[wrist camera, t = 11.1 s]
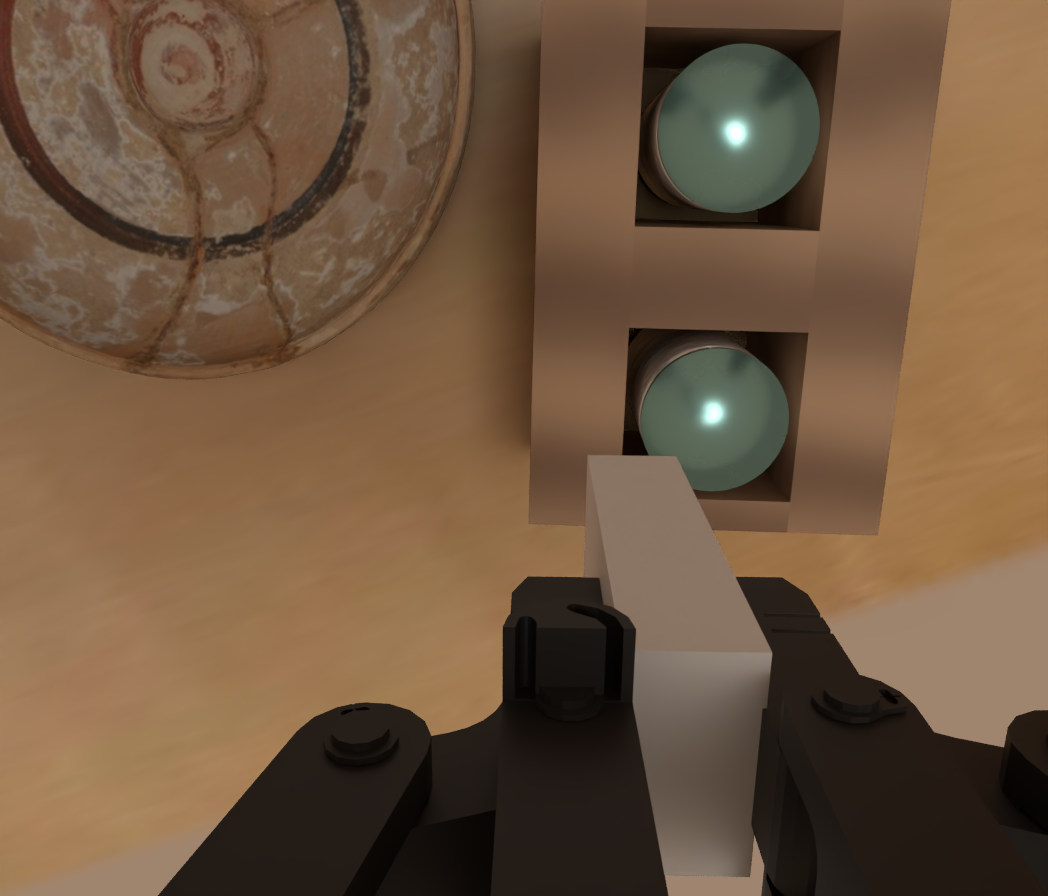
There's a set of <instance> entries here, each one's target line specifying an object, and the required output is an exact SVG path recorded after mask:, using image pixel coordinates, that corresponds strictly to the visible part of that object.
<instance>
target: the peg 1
mask: <svg viewBox="0 0 1048 896" xmlns="http://www.w3.org/2000/svg"><path fill="white" fill-rule="evenodd" d="M819 128H820V117H819V108H818V103H817V99H816V96H815V93H814V91H813V88H812V86H811V84H810V82H809V80H808V79H807V77H806V76H805V74H804V73H803V72H802V70H801V69H800V68H799V67H798V66H797V65H796V64H795V63H794V62H793V61H792V60H790V59H789V58H788V57H786V56H785V55H783V54H781V53H780V52H778V51H776V50H773V49H771V48H768V47H765V46H761V45H757V44H746V43H745V44H732V45H727V46H723V47H720V48H717V49H714V50H712V51H710V52H708V53H706V54H704V55H702V56H701V57H699V58H698V59H696V60H695V61H693V62H692V63H691V64H690V65H689V66H688V67H687V68H685V69H684V70H683V71H682V72H681V73H680V74H679V75H678V76H677V77H676V78H675V79H674V80H673V81H672V82H671V83H670V84H669V85H668V86H666V87H665V88H664V89H663V90H662V91H661V92H660V93H659V94H658V95H657V96H656V97H655V98H654V99H653V100H652V101H651V102H650V104H649V105H648V106H647V108H646V109H645V111H644V113H643V114H642V116H641V118H640V134H639V153H638V170H639V172H640V175H641V177H642V178H643V180H644V182H645V183H646V185H647V186H648V187H649V189H650V190H651V191H652V192H653V193H654V194H655V195H657V196H658V197H659V198H661V199H662V200H664V201H666V202H668V203H670V204H673V205H675V206H679V207H683V208H692V209H700V210H709V211H718V212H728V213H741V212H747V211H753V210H756V209H759V208H762V207H765V206H767V205H769V204H771V203H773V202H775V201H776V200H778V199H779V198H781V197H782V196H784V195H785V194H786V193H787V192H788V191H790V190H791V189H792V188H793V187H794V186H795V185H796V184H797V182H798V181H799V180H800V179H801V177H802V176H803V175H804V173H805V171H806V170H807V168H808V166H809V165H810V162H811V160H812V158H813V156H814V153H815V150H816V146H817V143H818V137H819Z"/></svg>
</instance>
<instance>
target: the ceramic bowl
mask: <svg viewBox="0 0 1048 896" xmlns="http://www.w3.org/2000/svg"><path fill="white" fill-rule="evenodd" d="M474 85H475V32H474V20H473V13H472V6H471V0H0V318H1V319H3V320H5V321H6V322H8V323H9V324H11V325H12V326H14V327H15V328H17V329H18V330H20V331H22V332H23V333H25V334H27V335H29V336H31V337H33V338H35V339H37V340H39V341H41V342H42V343H44V344H46V345H48V346H51V347H54V348H56V349H59V350H61V351H64V352H66V353H68V354H71V355H73V356H76V357H79V358H82V359H85V360H88V361H91V362H94V363H97V364H101V365H104V366H107V367H111V368H115V369H118V370H122V371H126V372H130V373H135V374H141V375H145V376H151V377H159V378H169V379H210V378H221V377H226V376H231V375H237V374H242V373H248V372H253V371H258V370H264V369H268V368H272V367H275V366H277V365H280V364H282V363H285V362H287V361H290V360H292V359H294V358H297V357H299V356H301V355H304V354H306V353H308V352H310V351H312V350H314V349H316V348H318V347H319V346H321V345H323V344H325V343H327V342H328V341H330V340H331V339H333V338H334V337H336V336H337V335H339V334H340V333H342V332H343V331H345V330H346V329H348V328H349V327H351V326H352V325H353V324H355V323H356V322H357V321H358V320H360V319H361V318H362V317H363V316H364V315H366V314H367V313H368V312H369V311H371V310H372V309H373V308H374V307H375V306H376V305H377V304H378V303H379V302H380V301H381V300H382V299H383V298H384V297H385V296H386V295H387V294H388V293H389V292H390V291H391V290H392V289H393V288H394V287H395V286H396V284H397V283H398V282H399V281H400V280H401V278H402V277H403V276H404V274H405V273H406V272H407V270H408V269H409V268H410V266H411V265H412V264H413V262H414V261H415V260H416V258H417V257H418V255H419V254H420V252H421V251H422V249H423V248H424V246H425V244H426V243H427V241H428V240H429V238H430V236H431V235H432V233H433V231H434V229H435V228H436V226H437V223H438V221H439V219H440V217H441V215H442V213H443V211H444V209H445V206H446V204H447V202H448V200H449V197H450V195H451V193H452V190H453V187H454V184H455V181H456V178H457V175H458V172H459V169H460V166H461V162H462V159H463V155H464V150H465V146H466V141H467V137H468V132H469V127H470V121H471V114H472V107H473V100H474Z"/></svg>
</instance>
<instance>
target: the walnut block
mask: <svg viewBox="0 0 1048 896" xmlns="http://www.w3.org/2000/svg"><path fill="white" fill-rule="evenodd" d="M950 6H951V0H542V23H541V62H540V101H539V140H538V179H537V218H536V257H535V296H534V335H533V374H532V413H531V452H530V491H529V524H544V525H574V526H585V518H586V486H587V455H621V456H649V454H648V452H647V450H646V448H645V445H644V442H643V440H642V437H641V434H640V432H636V431H623V430H624V411H625V393H626V374H627V356H628V338H629V328H655V329H692V330H728V331H748V337H747V348H746V350H747V351H748V352H750V353H751V354H752V355H753V356H755V357H756V358H757V359H758V360H759V361H761V362H762V363H763V364H764V365H765V366H766V367H768V368H769V369H770V370H771V371H772V372H773V374H774V375H775V376H776V378H777V379H778V380H779V382H780V384H781V386H782V387H783V390H784V393H785V395H786V398H787V403H788V409H789V425H788V431H787V435H786V438H785V441H784V444H783V446H782V448H781V450H780V452H779V454H778V455H777V457H776V458H775V460H774V461H773V462H772V463H771V465H770V466H769V467H768V468H767V469H766V470H765V471H764V472H762V473H761V474H760V475H759V476H757V477H756V478H754V479H753V480H751V481H749V482H747V483H746V484H743V485H741V486H738V487H735V488H732V489H728V490H722V491H700V490H695V489H692V490H693V492H694V494H695V496H696V498H697V500H698V502H699V504H700V506H701V508H702V510H703V512H704V514H705V516H706V518H707V520H708V522H709V524H710V526H711V528H712V530H727V531H758V532H789V533H819V534H850V535H878V531H879V524H880V516H881V509H882V502H883V494H884V487H885V480H886V473H887V465H888V458H889V451H890V443H891V436H892V429H893V422H894V414H895V407H896V400H897V392H898V385H899V378H900V371H901V363H902V356H903V349H904V341H905V334H906V327H907V320H908V312H909V305H910V298H911V290H912V283H913V276H914V268H915V261H916V254H917V247H918V239H919V232H920V225H921V217H922V210H923V203H924V196H925V188H926V181H927V174H928V166H929V159H930V152H931V145H932V137H933V130H934V123H935V115H936V108H937V101H938V94H939V86H940V79H941V72H942V64H943V57H944V50H945V43H946V35H947V28H948V21H949V13H950ZM745 43H746V44H757V45H761V46H765V47H768V48H771V49H773V50H776V51H778V52H780V53H781V54H783V55H785V56H786V57H788V58H789V59H790V60H792V61H793V62H794V63H795V64H796V65H797V66H798V67H799V68H800V69H801V70H802V72H803V73H804V74H805V76H806V77H807V79H808V80H809V82H810V84H811V86H812V88H813V91H814V93H815V96H816V99H817V103H818V108H819V117H820V128H819V137H818V143H817V146H816V150H815V153H814V156H813V158H812V160H811V162H810V165H809V166H808V168H807V170H806V171H805V173H804V175H803V176H802V177H801V179H800V180H799V181H798V182H797V184H796V185H795V186H794V187H793V188H792V189H791V190H790V191H788V192H787V193H786V194H785V195H784V196H782V197H781V198H779V199H778V200H776V201H775V202H773V203H771V204H769V205H767V206H765V207H762V208H759V215H758V222H729V221H688V220H647V219H635V208H636V190H637V171H638V153H639V134H640V116H641V98H642V79H643V67H652V68H687V67H688V66H689V65H690V64H691V63H692V62H693V61H695V60H696V59H698V58H699V57H701V56H702V55H704V54H706V53H708V52H710V51H712V50H714V49H717V48H720V47H723V46H727V45H732V44H745Z"/></svg>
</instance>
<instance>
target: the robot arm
mask: <svg viewBox="0 0 1048 896" xmlns="http://www.w3.org/2000/svg"><path fill="white" fill-rule="evenodd" d="M754 835H755V838H756V841H757V844H758V847H759V850H760V853H761V856H762V859H763V862H764V865H765V866H764V876H763V886H762V895H761V896H1048V710H1043V711H1042V710H1041V711H1040V710H1038V711H1037V710H1036V711H1031V712H1028V713H1025V714H1022V715H1019V716H1016V717H1015V719H1014V720H1013V721H1012V723H1011V724H1010V725H1009V727H1008V730H1007V735H1006V741H1005V746H1004V747H998V746H994V745H988V744H984V743H979V742H973V741H968V740H964V739H958V738H954V737H950V736H946V735H942V734H938V733H934V732H933V730H932V729H931V727H930V726H929V725H928V723H927V722H926V720H925V719H924V718H923V716H922V715H921V713H920V712H919V711H918V709H917V708H916V706H915V705H914V704H913V703H912V702H911V701H910V700H909V699H908V698H906V697H905V696H904V695H903V694H902V693H901V692H900V691H897V690H896V689H894V688H892V687H890V686H888V685H886V684H884V683H883V682H881V681H878V680H875V679H872V678H868V677H865V676H862V675H859V674H858V672H857V670H856V669H855V667H854V666H853V664H852V663H851V661H850V659H849V658H848V656H847V655H846V653H845V652H844V650H843V649H842V647H841V645H840V644H839V642H838V641H837V639H836V638H835V636H834V635H833V634H831V633H830V628H829V627H828V625H827V624H826V622H825V621H824V619H823V618H820V613H819V611H818V610H817V608H816V606H815V605H814V603H813V602H812V600H811V599H810V597H809V596H808V594H806V593H805V592H803V591H802V590H800V589H799V588H797V587H796V586H794V585H793V584H791V583H790V582H788V581H787V580H785V579H783V578H776V577H735V575H734V573H733V571H732V569H731V567H730V565H729V563H728V561H727V559H726V557H725V555H724V553H723V551H722V549H721V547H720V545H719V543H718V541H717V539H716V537H715V535H714V532H713V530H712V528H711V526H710V524H709V522H708V520H707V518H706V516H705V514H704V512H703V510H702V508H701V506H700V504H699V502H698V500H697V498H696V496H695V494H694V492H693V490H692V488H691V486H690V483H689V481H688V479H687V477H686V475H685V473H684V471H683V469H682V467H681V465H680V463H679V461H678V459H677V457H676V456H621V455H587V486H586V518H585V551H584V577H527V578H526V579H525V580H524V581H523V582H522V583H521V584H520V585H519V586H518V587H517V588H516V589H515V590H514V591H513V592H512V600H511V614H510V615H509V616H508V618H507V620H506V622H505V624H504V626H503V702H502V703H501V705H500V706H499V707H498V709H497V710H496V711H495V712H494V713H493V714H491V715H490V716H489V717H487V718H486V719H485V720H483V721H481V722H479V723H477V724H475V725H472V726H470V727H468V728H465V729H461V730H457V731H454V732H450V733H445V734H440V735H435V736H431V734H430V732H429V730H428V727H427V725H426V723H425V721H424V720H422V719H421V718H420V717H418V716H417V715H416V714H414V713H413V712H412V711H410V710H407V709H404V708H401V707H397V706H394V705H391V704H381V703H355V704H353V705H352V704H350V705H346V706H341V707H337V708H335V709H332V710H330V711H327V712H325V713H323V714H320V715H318V716H316V717H314V718H313V719H311V720H310V721H309V722H308V723H306V724H305V725H304V726H303V727H301V728H300V729H299V730H298V731H297V732H296V733H295V734H294V735H293V737H292V738H291V739H290V740H289V741H288V743H287V744H286V745H285V746H284V747H283V748H282V750H281V751H280V752H279V753H278V754H277V756H276V757H275V758H274V759H273V760H272V761H271V763H270V764H269V765H268V766H267V767H266V769H265V770H264V771H263V772H262V773H261V774H260V776H259V777H258V778H257V779H256V780H255V782H254V783H253V784H252V785H251V786H250V787H249V789H248V790H247V791H246V792H245V793H244V795H243V796H242V797H241V798H240V799H239V800H238V802H237V803H236V804H235V805H234V806H233V808H232V809H231V810H230V811H229V812H228V813H227V815H226V816H225V817H224V818H223V819H222V821H221V822H220V823H219V824H218V825H217V826H216V828H215V829H214V830H213V831H212V832H211V834H210V835H209V836H208V837H207V838H206V839H205V841H204V842H203V843H202V844H201V846H200V847H199V848H198V849H197V850H196V851H195V852H194V854H193V855H192V856H191V857H190V858H189V860H188V861H187V862H186V863H185V864H184V866H183V867H182V868H181V869H180V870H179V871H178V873H177V874H176V875H175V876H174V877H173V878H172V880H171V881H170V882H169V883H168V884H167V886H166V887H165V888H164V889H163V890H162V891H161V893H160V894H159V895H158V896H668V892H667V887H666V880H665V875H669V876H670V875H671V876H723V877H726V876H727V877H750V872H751V862H752V852H753V841H754Z"/></svg>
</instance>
